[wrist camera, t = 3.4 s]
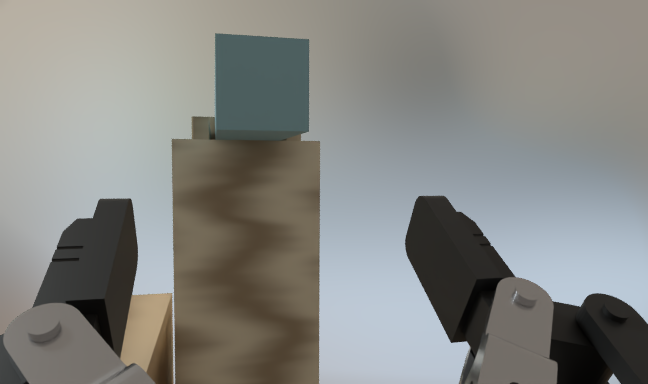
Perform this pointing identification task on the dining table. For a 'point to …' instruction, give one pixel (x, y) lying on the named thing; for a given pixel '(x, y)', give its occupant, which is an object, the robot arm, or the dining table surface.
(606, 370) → the robot arm
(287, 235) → the birch stand
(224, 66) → the teal block
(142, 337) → the oak step
